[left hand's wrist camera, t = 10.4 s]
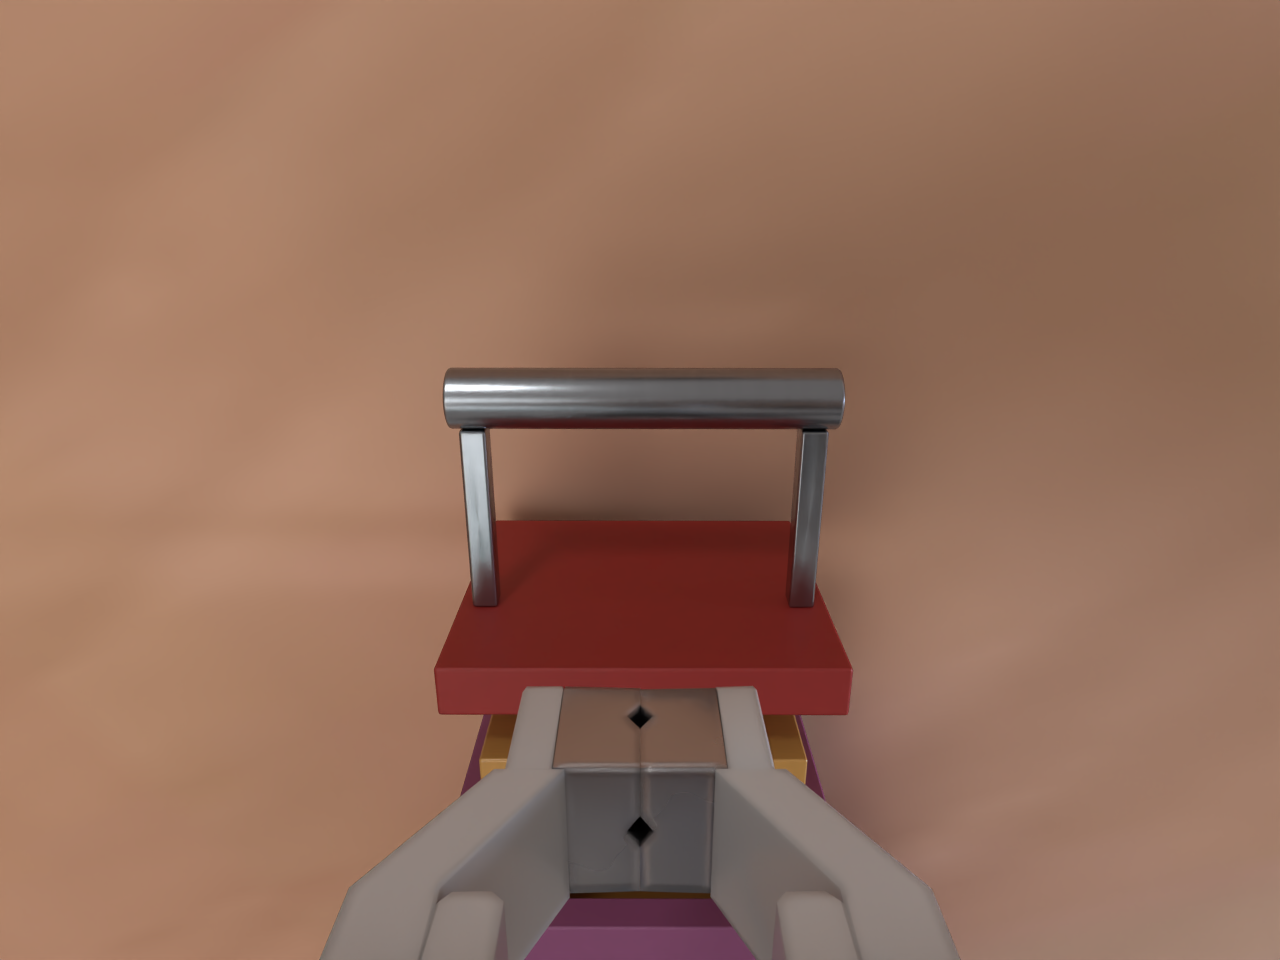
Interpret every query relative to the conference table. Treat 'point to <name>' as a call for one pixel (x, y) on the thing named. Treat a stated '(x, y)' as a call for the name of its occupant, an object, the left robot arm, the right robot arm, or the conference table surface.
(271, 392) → the conference table surface
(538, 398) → the drawer
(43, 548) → the conference table surface
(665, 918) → the cabinet
